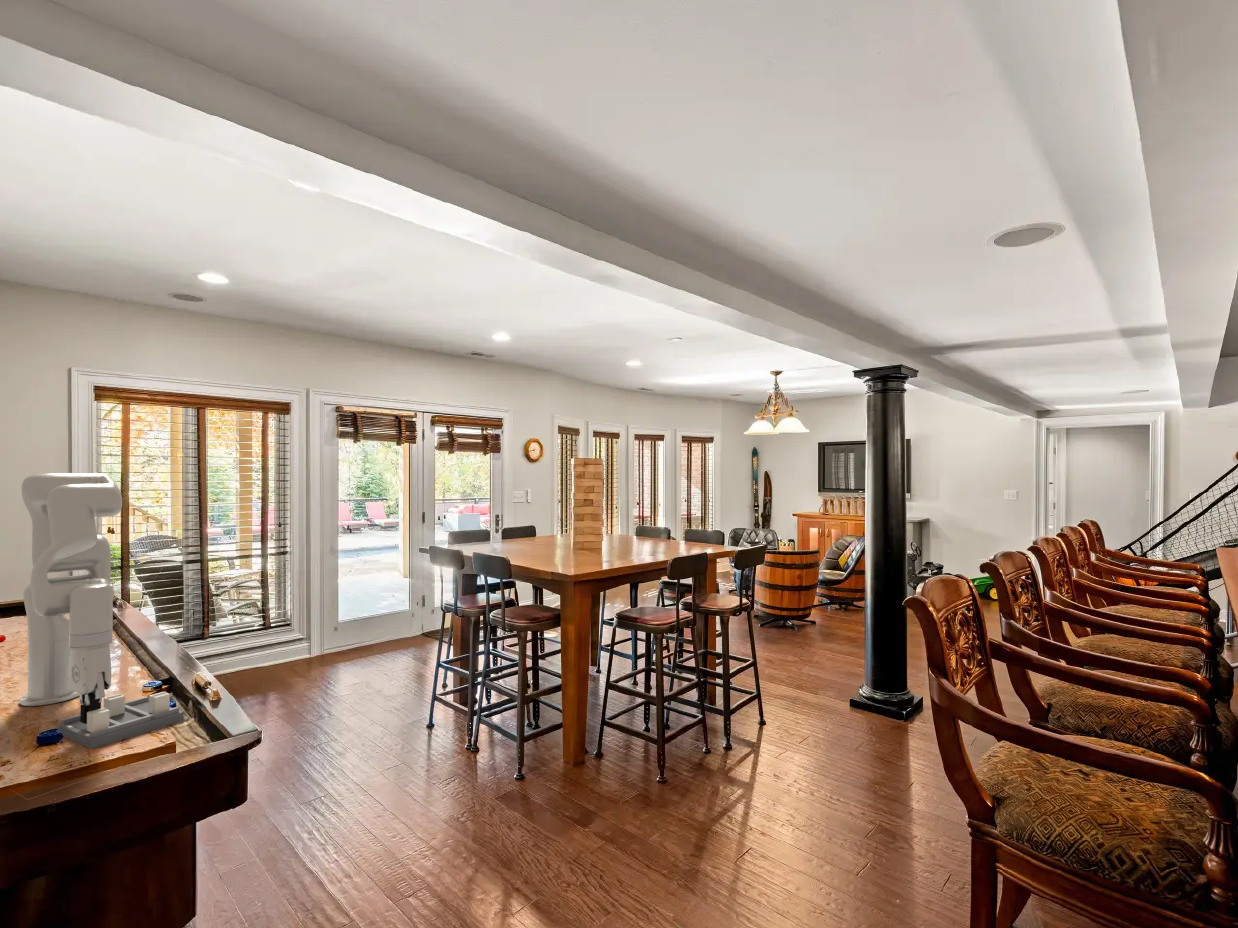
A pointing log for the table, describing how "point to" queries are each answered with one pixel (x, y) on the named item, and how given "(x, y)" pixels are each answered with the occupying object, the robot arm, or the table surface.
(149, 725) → the switch bank
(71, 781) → the table surface
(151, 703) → the tab
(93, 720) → the tab
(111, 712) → the tab
